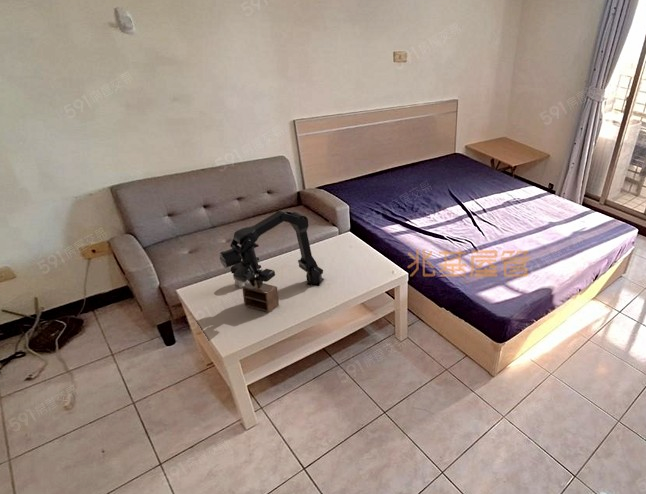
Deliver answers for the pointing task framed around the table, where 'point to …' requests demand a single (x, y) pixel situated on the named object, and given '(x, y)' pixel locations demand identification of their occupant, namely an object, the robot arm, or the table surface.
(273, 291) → the shelf
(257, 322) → the table surface
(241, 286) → the toy rhinoceros
